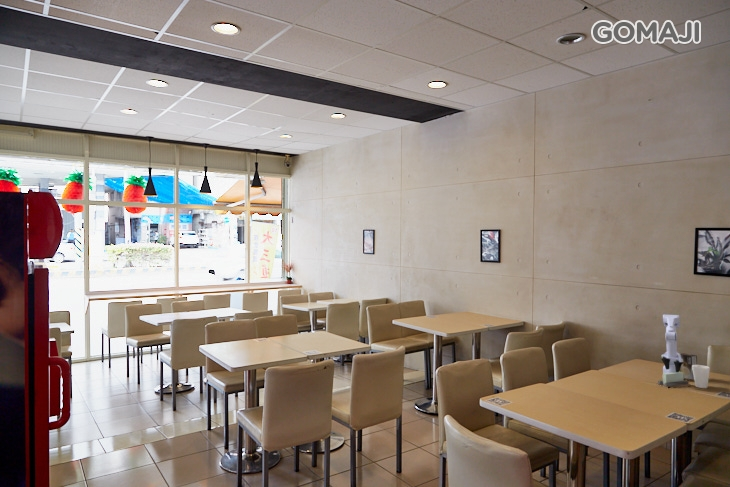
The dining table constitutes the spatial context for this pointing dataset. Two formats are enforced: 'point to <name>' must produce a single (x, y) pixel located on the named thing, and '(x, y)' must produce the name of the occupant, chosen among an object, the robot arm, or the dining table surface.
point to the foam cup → (701, 375)
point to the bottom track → (674, 384)
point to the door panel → (672, 377)
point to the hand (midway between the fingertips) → (672, 370)
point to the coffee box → (688, 365)
